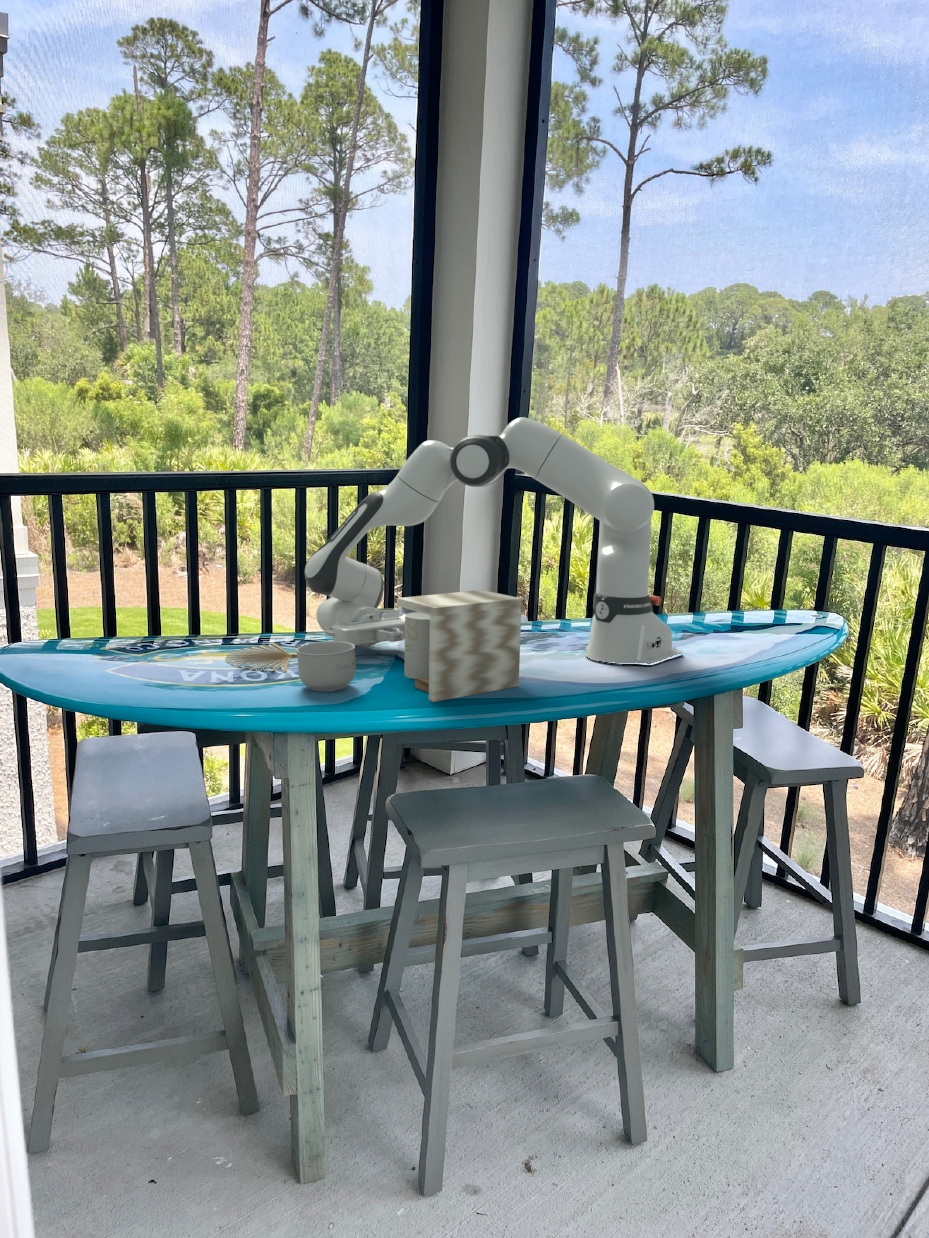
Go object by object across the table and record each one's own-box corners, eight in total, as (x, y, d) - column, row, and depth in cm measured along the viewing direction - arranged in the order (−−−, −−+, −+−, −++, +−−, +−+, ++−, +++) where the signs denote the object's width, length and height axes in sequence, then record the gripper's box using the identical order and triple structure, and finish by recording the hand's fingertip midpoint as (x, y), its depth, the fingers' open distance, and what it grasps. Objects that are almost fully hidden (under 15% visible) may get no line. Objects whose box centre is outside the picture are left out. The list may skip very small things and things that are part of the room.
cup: (404, 669, 182) (404, 611, 180) (444, 669, 183) (445, 611, 180) (404, 679, 174) (405, 619, 172) (446, 679, 175) (447, 619, 172)
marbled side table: (479, 672, 180) (481, 589, 177) (518, 686, 171) (521, 598, 168) (396, 687, 168) (397, 598, 165) (433, 702, 159) (435, 607, 156)
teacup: (345, 697, 161) (345, 654, 160) (288, 693, 163) (287, 650, 161) (366, 678, 175) (366, 638, 173) (313, 675, 176) (312, 635, 175)
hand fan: (292, 645, 204) (223, 647, 199) (291, 641, 203) (223, 644, 199) (304, 673, 179) (227, 676, 175) (304, 669, 179) (227, 672, 174)
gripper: (321, 616, 189) (354, 627, 178) (402, 607, 201) (437, 617, 191) (321, 646, 190) (354, 658, 180) (402, 635, 203) (437, 646, 192)
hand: (398, 637), depth 185 cm, fingers closed
